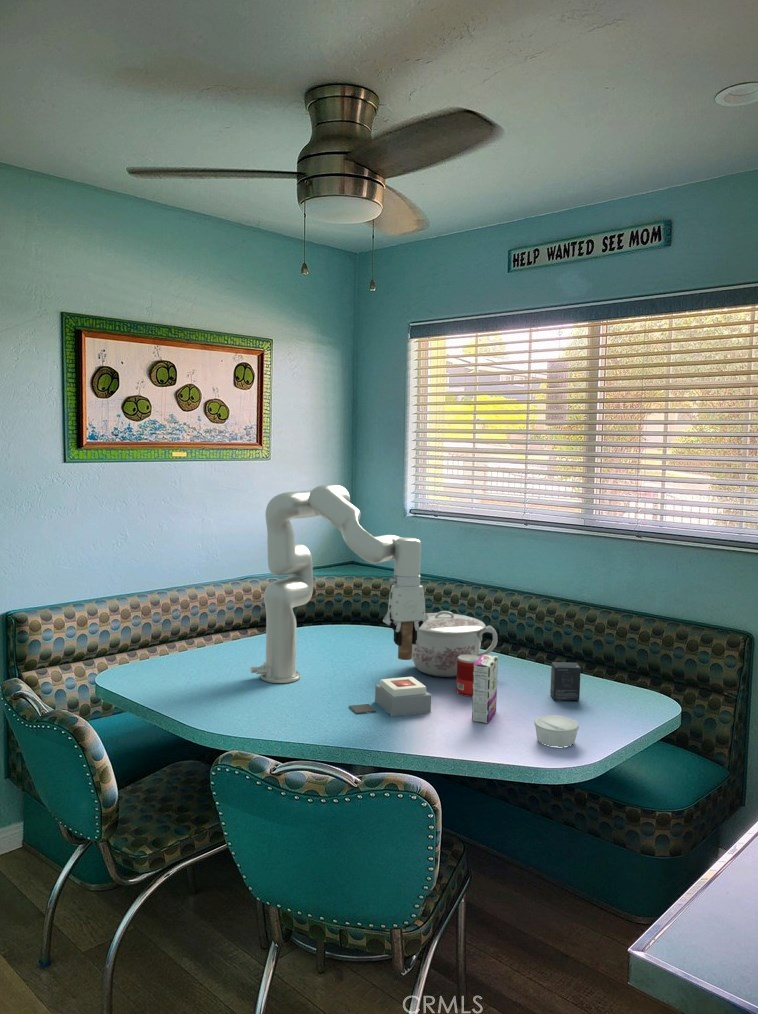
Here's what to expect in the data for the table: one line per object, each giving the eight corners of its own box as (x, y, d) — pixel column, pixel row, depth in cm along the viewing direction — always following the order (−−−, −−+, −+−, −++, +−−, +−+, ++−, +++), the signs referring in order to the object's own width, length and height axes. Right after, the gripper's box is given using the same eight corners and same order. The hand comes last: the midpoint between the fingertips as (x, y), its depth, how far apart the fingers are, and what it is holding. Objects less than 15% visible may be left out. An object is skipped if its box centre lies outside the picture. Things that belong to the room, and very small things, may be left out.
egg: (398, 698, 224) (398, 686, 223) (391, 693, 228) (392, 681, 228) (413, 697, 225) (414, 685, 225) (407, 692, 230) (407, 680, 230)
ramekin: (530, 746, 201) (531, 726, 200) (537, 731, 211) (538, 712, 211) (574, 753, 197) (575, 733, 196) (580, 738, 207) (581, 719, 207)
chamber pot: (384, 669, 263) (386, 608, 262) (439, 655, 282) (441, 598, 281) (447, 690, 243) (450, 624, 242) (501, 673, 262) (504, 613, 261)
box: (575, 695, 242) (576, 662, 241) (579, 701, 237) (581, 667, 236) (549, 694, 242) (551, 661, 241) (553, 700, 237) (555, 666, 236)
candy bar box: (479, 709, 227) (481, 653, 226) (496, 711, 225) (499, 655, 224) (470, 721, 217) (472, 663, 215) (488, 724, 215) (490, 666, 214)
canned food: (481, 697, 237) (482, 662, 236) (454, 695, 239) (456, 659, 238) (482, 689, 245) (484, 655, 244) (457, 687, 246) (458, 653, 245)
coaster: (356, 714, 220) (356, 712, 220) (349, 707, 225) (349, 705, 225) (376, 711, 222) (376, 710, 222) (368, 705, 227) (368, 703, 227)
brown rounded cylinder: (401, 660, 223) (402, 612, 222) (395, 656, 227) (397, 609, 226) (414, 659, 225) (415, 611, 223) (408, 655, 228) (409, 608, 227)
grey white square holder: (391, 716, 219) (392, 691, 218) (375, 701, 231) (375, 678, 230) (430, 712, 223) (431, 688, 223) (412, 697, 235) (412, 674, 235)
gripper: (384, 584, 217) (383, 649, 219) (439, 582, 223) (437, 645, 225) (375, 580, 224) (373, 642, 226) (427, 577, 230) (426, 638, 232)
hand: (405, 643), depth 225 cm, fingers closed on brown rounded cylinder, 4 cm apart
